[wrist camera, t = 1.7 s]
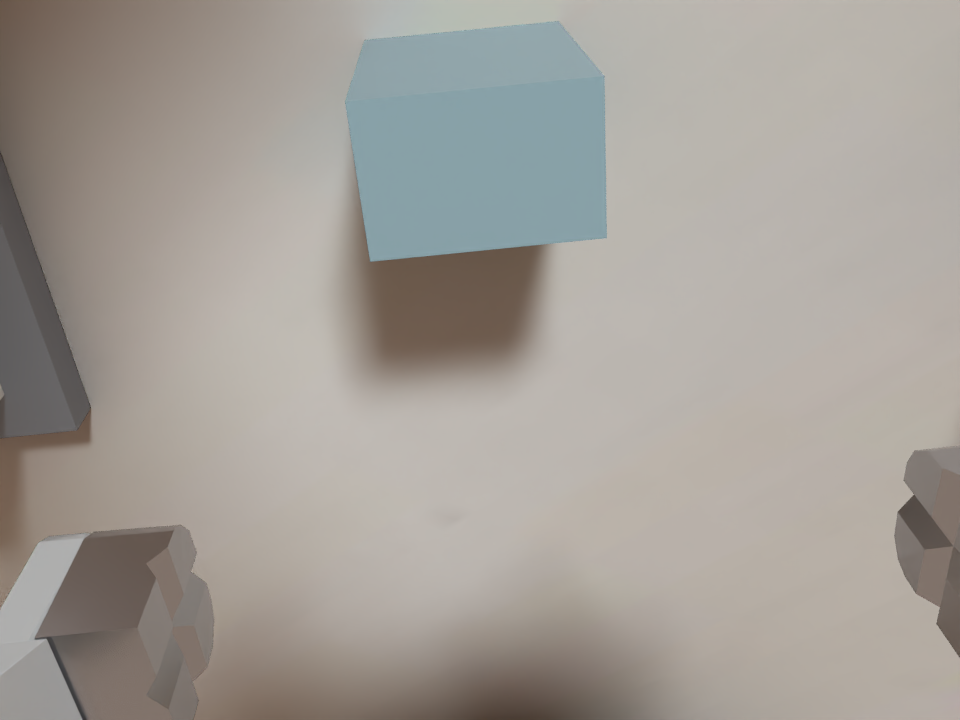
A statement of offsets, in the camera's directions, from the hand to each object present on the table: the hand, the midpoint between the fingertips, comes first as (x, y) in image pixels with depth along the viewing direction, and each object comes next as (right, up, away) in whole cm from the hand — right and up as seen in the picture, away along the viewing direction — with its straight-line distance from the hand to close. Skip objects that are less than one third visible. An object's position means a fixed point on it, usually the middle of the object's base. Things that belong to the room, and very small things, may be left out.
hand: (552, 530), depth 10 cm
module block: (-1, +10, +18) cm, 21 cm away
